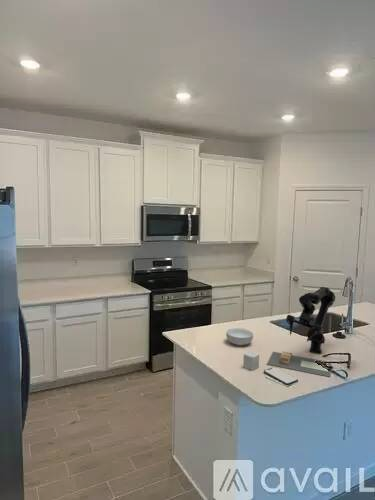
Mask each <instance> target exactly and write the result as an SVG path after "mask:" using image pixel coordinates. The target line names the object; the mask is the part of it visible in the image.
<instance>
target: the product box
mask: <svg viewBox="0 0 375 500" xmlns="http://www.w3.org/2000/svg"><path fill="white" fill-rule="evenodd" d="M242 363H243V366H242V367H243V368H245V369H247V370H250V371H255V370H257V369H258V368H260V354H259V353H256V352H253V351H248V352H245V353H244V354H243V362H242Z"/></svg>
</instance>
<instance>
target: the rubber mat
mask: <svg viewBox="0 0 375 500" xmlns="http://www.w3.org/2000/svg"><path fill="white" fill-rule="evenodd" d="M281 354H282V352H278V351H272V353H271V355H270V357H269V358H268V361H267V363H266V365H267V366H269V367H270V366H271V367H275V368H280V369H287V370H291V371H296V372H301V373H306V374H309V375H310V374H311V375H315V376H322V377H326V378H327V377H328V378H331V371H328V370H327V369H325V368H323V367H322V366H321V365H318V364H317V363H315V362H314V361H315V360H316V361H322V362H329V361H327V360H321V359H318V358H317V359H316V358H310V357H305V356H300V355H295V354H291V360H290V362H289V365H284V364H279V359H280V356H281ZM327 366H332V362H331V363H328V364H327Z"/></svg>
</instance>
